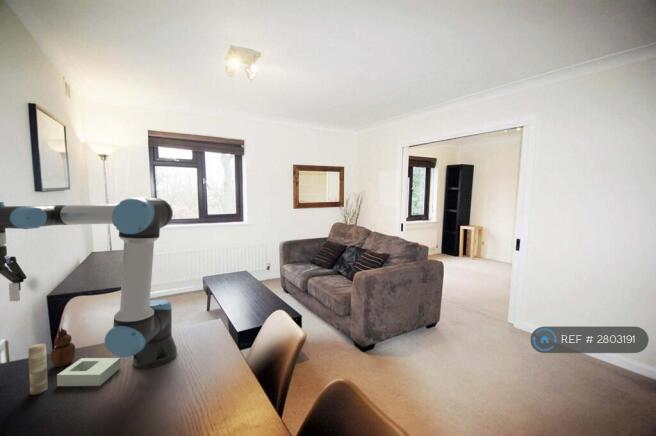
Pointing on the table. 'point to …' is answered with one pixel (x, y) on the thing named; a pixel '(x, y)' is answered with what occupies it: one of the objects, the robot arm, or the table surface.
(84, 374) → the socket block
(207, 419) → the table surface
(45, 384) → the dowel
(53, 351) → the wooden figurine
